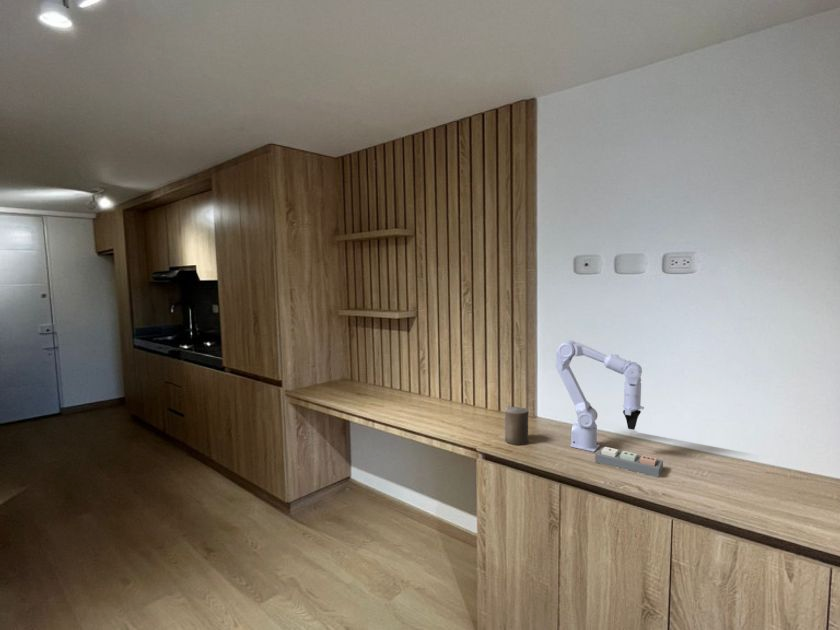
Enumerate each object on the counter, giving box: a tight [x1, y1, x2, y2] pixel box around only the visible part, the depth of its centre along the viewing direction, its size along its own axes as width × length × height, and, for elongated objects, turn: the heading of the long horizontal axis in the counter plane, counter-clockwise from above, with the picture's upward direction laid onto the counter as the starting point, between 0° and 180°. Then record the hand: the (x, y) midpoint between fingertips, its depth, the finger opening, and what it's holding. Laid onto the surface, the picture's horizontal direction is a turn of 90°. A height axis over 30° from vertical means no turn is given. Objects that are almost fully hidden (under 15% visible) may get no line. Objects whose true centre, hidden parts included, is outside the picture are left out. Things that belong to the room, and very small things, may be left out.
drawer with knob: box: [601, 446, 619, 457], centre depth 162 cm, size 5×5×4 cm
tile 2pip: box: [620, 450, 638, 462], centre depth 158 cm, size 5×5×4 cm
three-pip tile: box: [640, 454, 658, 466], centre depth 154 cm, size 5×5×4 cm
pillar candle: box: [504, 406, 529, 446], centre depth 183 cm, size 10×10×15 cm
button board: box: [594, 446, 664, 478], centre depth 158 cm, size 21×9×3 cm, turn 52°
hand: (631, 428), depth 167 cm, fingers closed
